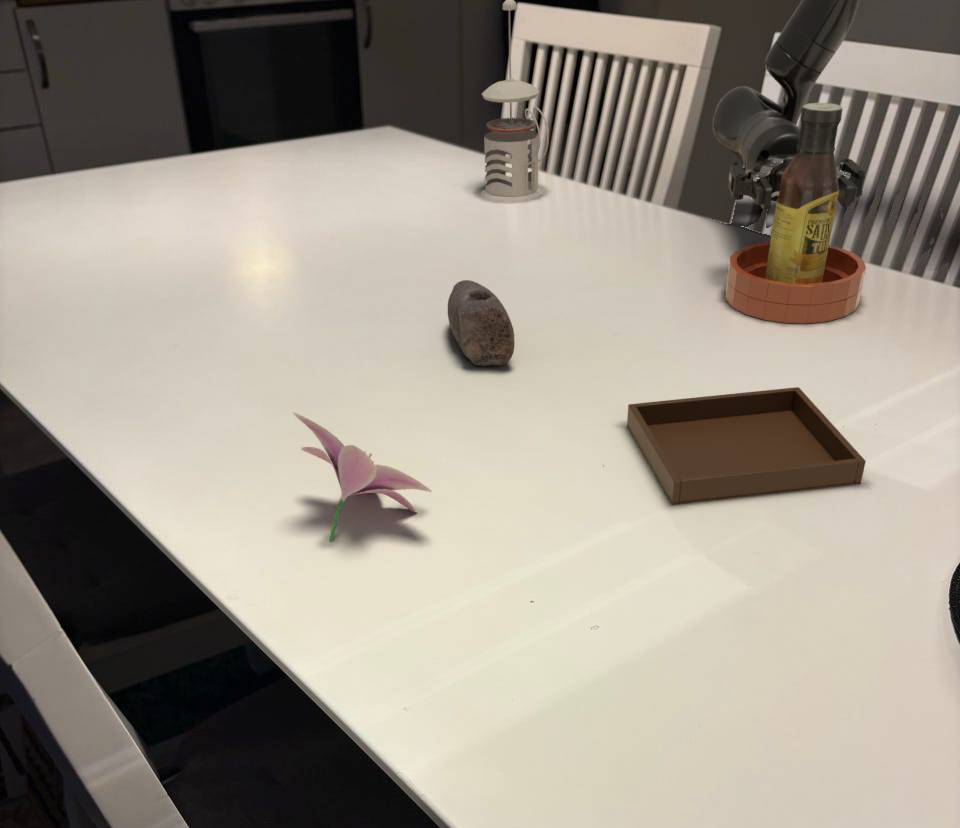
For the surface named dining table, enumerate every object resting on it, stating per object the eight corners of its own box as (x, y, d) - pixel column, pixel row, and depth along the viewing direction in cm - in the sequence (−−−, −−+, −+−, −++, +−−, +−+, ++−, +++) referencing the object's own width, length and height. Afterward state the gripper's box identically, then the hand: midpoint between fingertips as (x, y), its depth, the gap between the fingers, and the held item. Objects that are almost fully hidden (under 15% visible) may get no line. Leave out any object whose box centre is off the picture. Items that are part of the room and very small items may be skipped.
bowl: (825, 274, 125) (832, 236, 122) (879, 320, 113) (888, 279, 111) (708, 285, 123) (712, 246, 120) (751, 332, 112) (757, 291, 109)
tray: (794, 411, 97) (798, 386, 96) (860, 487, 86) (866, 460, 85) (626, 428, 96) (628, 404, 94) (671, 508, 85) (674, 481, 83)
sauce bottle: (801, 313, 115) (833, 116, 102) (751, 300, 118) (777, 108, 106) (830, 296, 118) (864, 104, 106) (781, 284, 122) (809, 96, 109)
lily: (441, 568, 81) (464, 446, 79) (297, 552, 75) (318, 419, 73) (383, 540, 91) (402, 431, 89) (252, 523, 85) (270, 406, 84)
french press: (512, 181, 160) (510, -9, 144) (567, 195, 153) (571, -2, 137) (465, 195, 155) (457, 0, 139) (519, 211, 148) (517, 8, 132)
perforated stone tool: (438, 326, 116) (434, 264, 112) (484, 320, 117) (482, 258, 113) (468, 381, 105) (465, 314, 100) (518, 375, 106) (518, 308, 101)
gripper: (721, 125, 121) (745, 163, 109) (844, 122, 121) (883, 158, 108) (714, 193, 126) (737, 236, 113) (833, 189, 125) (869, 232, 113)
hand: (808, 198), depth 111 cm, fingers open, 8 cm apart
